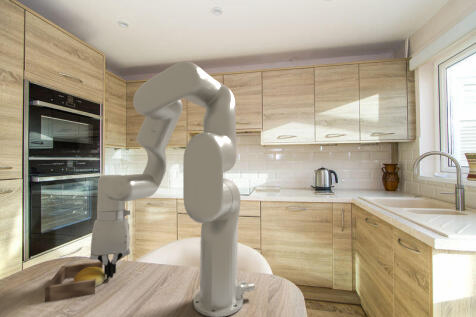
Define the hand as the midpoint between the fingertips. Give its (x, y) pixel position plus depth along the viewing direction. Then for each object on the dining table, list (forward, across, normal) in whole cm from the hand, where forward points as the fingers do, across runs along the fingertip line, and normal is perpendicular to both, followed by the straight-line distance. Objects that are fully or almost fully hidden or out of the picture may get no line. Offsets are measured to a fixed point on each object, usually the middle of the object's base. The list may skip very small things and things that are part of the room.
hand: (110, 276), depth 72 cm
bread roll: (+2, +6, 0) cm, 6 cm away
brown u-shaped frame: (+1, +8, 0) cm, 8 cm away
